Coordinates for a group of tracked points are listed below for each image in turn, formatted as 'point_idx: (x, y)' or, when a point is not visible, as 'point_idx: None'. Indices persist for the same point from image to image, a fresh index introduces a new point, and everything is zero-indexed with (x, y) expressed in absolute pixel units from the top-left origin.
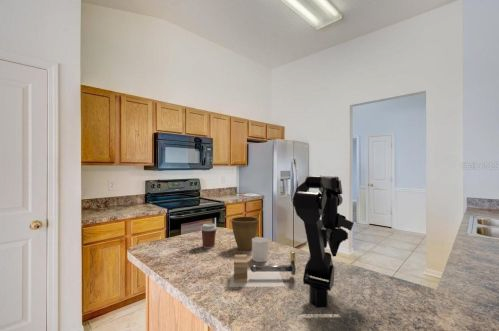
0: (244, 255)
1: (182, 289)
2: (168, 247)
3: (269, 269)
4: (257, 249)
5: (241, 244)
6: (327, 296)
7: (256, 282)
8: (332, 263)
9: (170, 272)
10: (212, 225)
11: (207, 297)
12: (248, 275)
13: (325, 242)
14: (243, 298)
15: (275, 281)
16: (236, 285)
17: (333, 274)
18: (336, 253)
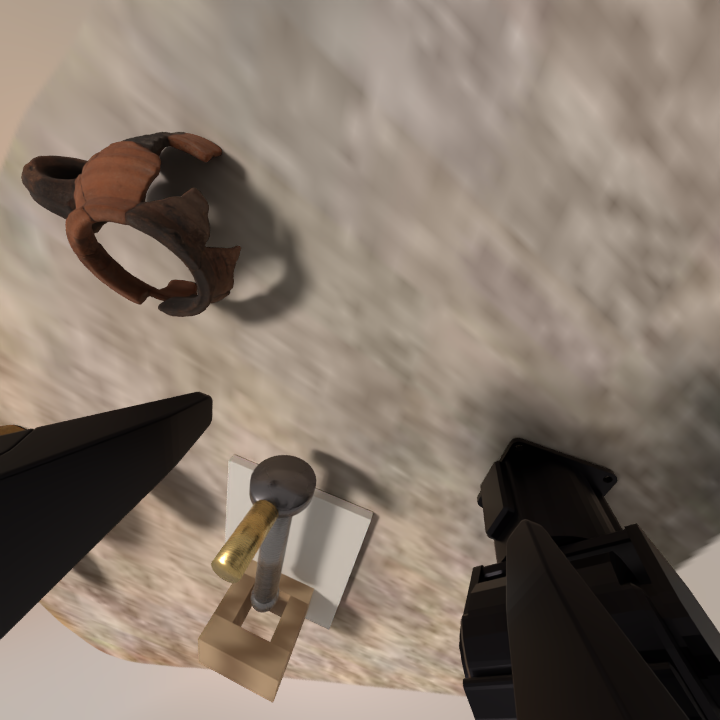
0: (207, 649)
1: (309, 677)
2: (78, 605)
3: (281, 565)
4: None
5: None
6: (605, 514)
7: (318, 570)
8: (180, 142)
9: None
10: None
11: (360, 667)
12: None
13: (147, 447)
14: (393, 624)
15: (324, 523)
16: (325, 615)
17: (688, 604)
18: (572, 571)
